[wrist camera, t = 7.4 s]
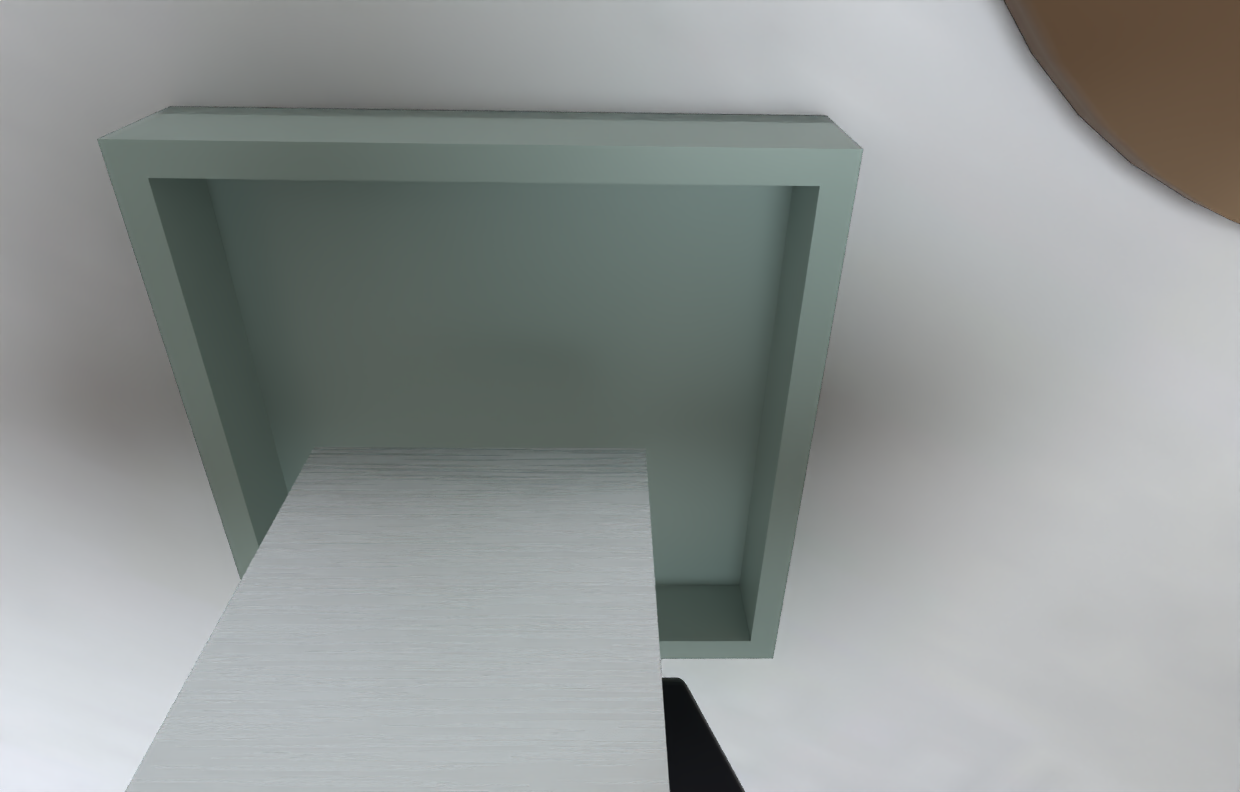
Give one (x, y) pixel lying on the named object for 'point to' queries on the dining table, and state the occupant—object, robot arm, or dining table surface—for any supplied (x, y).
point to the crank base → (1151, 84)
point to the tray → (508, 309)
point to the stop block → (434, 633)
